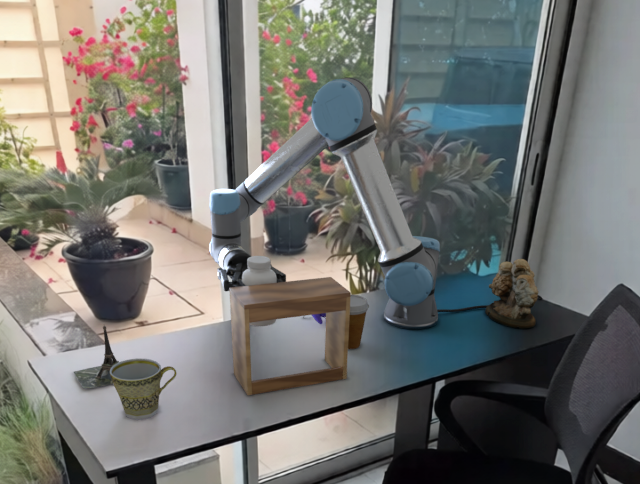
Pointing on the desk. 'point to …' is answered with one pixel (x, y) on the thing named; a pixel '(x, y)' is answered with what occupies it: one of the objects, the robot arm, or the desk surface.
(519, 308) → the owl figurine
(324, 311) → the open wooden shelf
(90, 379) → the eiffel tower souvenir
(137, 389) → the ceramic cup
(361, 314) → the disposable coffee cup
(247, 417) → the desk surface
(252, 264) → the pill bottle
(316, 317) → the game controller
